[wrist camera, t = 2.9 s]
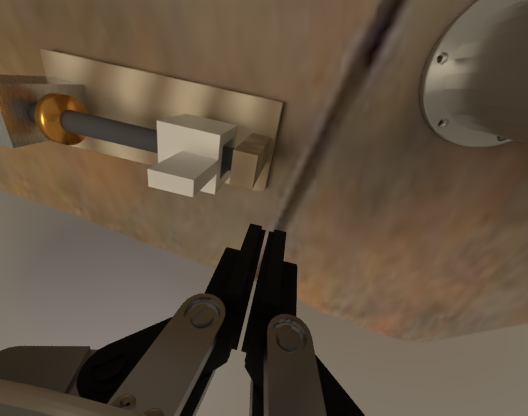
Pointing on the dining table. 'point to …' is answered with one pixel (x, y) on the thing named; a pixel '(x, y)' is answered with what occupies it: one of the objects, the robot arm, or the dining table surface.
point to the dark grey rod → (117, 132)
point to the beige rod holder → (172, 111)
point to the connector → (38, 109)
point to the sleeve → (191, 154)
